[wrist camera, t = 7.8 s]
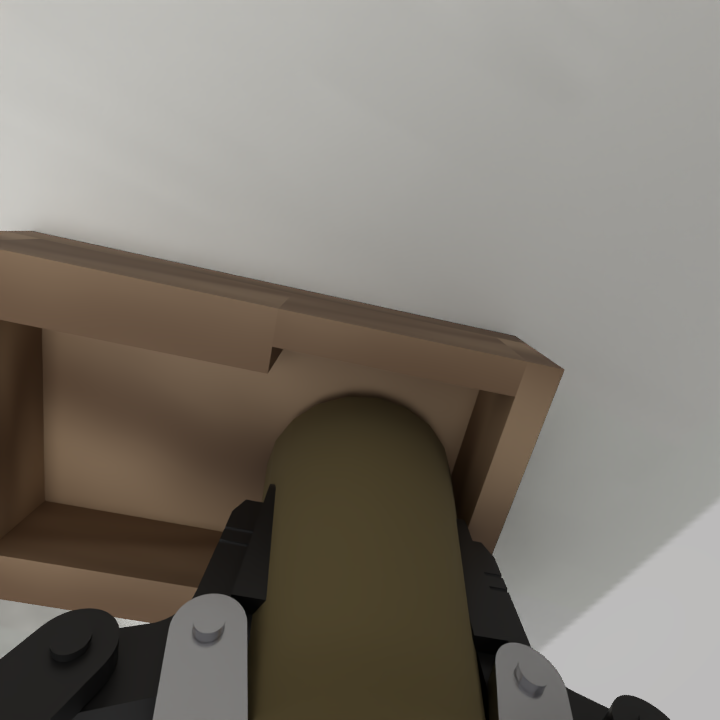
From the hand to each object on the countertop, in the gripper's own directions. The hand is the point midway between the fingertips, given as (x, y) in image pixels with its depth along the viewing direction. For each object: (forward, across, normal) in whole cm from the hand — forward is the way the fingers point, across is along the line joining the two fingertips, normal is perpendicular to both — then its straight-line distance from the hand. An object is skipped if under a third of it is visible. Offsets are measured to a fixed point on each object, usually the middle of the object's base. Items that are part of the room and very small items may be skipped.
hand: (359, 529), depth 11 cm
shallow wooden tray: (+4, +4, 0) cm, 6 cm away
